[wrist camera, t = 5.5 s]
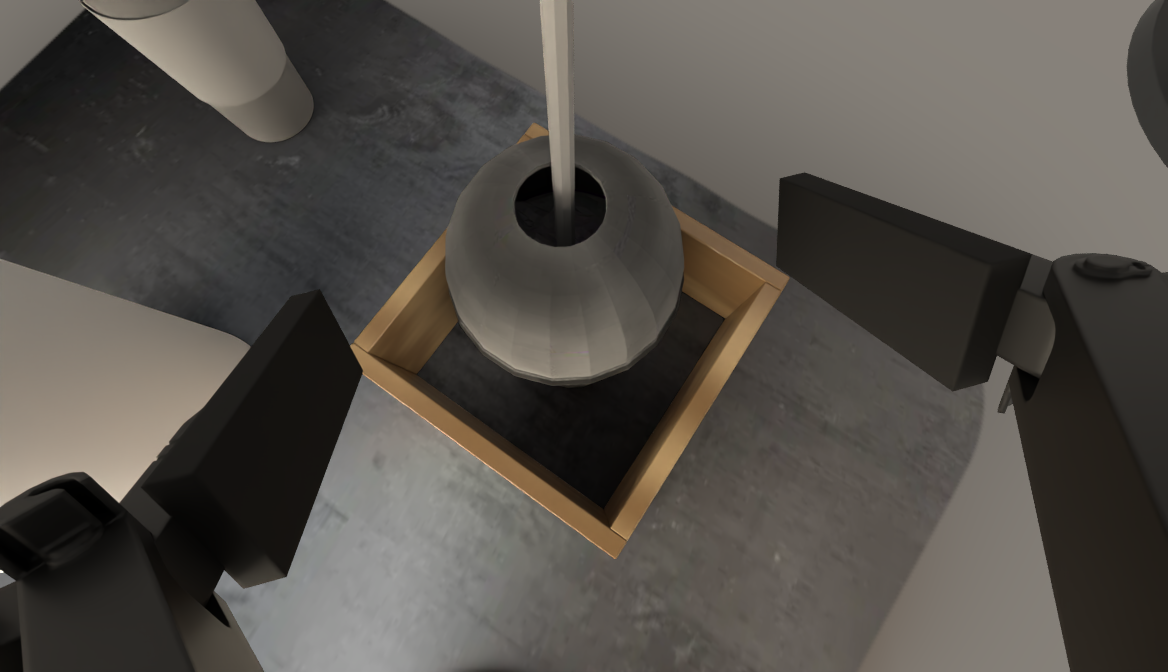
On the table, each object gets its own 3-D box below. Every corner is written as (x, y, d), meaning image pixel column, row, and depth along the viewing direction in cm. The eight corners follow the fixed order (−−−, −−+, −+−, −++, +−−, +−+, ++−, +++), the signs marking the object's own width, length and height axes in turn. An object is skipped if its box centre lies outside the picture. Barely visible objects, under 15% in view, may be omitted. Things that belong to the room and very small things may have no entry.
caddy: (544, 189, 28) (533, 121, 22) (744, 315, 26) (791, 276, 20) (395, 378, 25) (339, 357, 20) (607, 532, 24) (615, 560, 18)
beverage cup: (497, 407, 25) (196, 259, 6) (515, 277, 27) (334, -187, 7) (635, 421, 25) (825, 320, 5) (645, 289, 27) (816, -150, 7)
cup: (231, 174, 28) (-19, -22, 16) (206, 86, 30) (-39, -151, 18) (347, 133, 29) (187, -83, 17) (317, 49, 30) (151, -203, 19)
